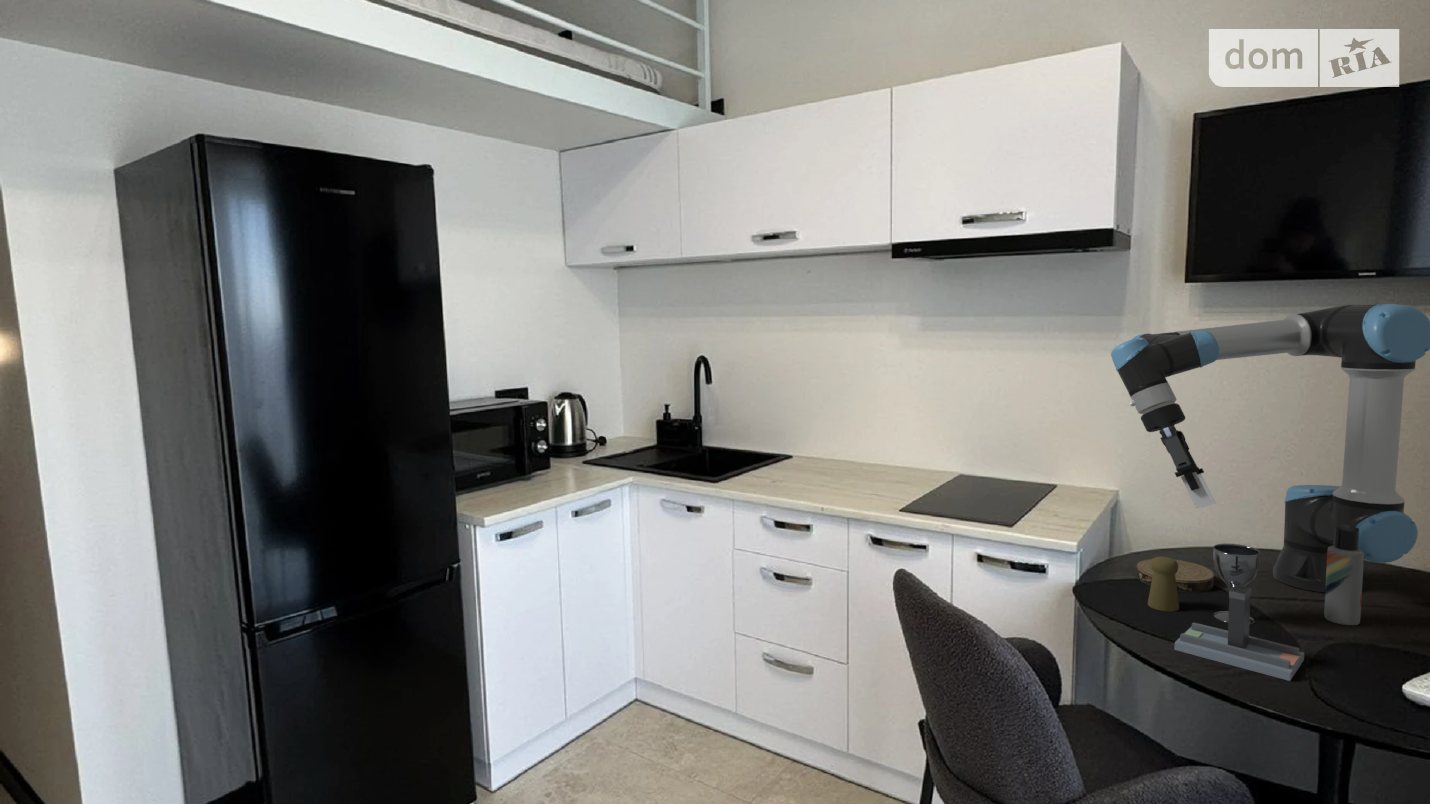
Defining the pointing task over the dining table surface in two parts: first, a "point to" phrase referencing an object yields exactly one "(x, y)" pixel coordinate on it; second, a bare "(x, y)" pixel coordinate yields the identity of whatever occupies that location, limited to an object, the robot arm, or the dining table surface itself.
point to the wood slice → (1181, 576)
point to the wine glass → (1235, 568)
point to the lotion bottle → (1344, 577)
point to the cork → (1164, 585)
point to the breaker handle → (1239, 616)
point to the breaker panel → (1241, 651)
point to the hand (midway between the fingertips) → (1206, 505)
